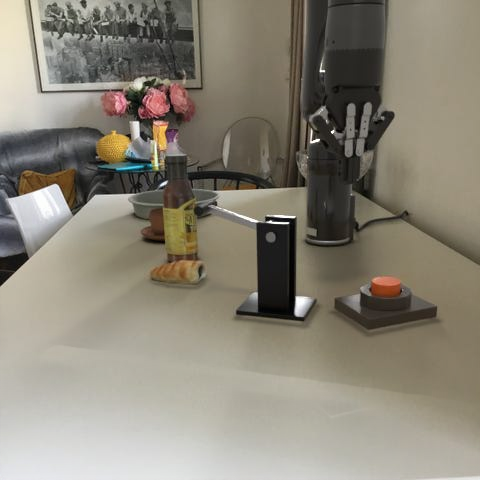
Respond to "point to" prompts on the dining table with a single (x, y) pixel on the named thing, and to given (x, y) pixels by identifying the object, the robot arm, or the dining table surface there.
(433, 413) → the dining table surface
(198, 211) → the lever
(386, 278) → the ignition button
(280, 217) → the stand
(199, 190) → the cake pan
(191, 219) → the sauce bottle
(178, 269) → the pastry
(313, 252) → the dining table surface
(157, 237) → the cup and saucer
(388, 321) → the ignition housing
